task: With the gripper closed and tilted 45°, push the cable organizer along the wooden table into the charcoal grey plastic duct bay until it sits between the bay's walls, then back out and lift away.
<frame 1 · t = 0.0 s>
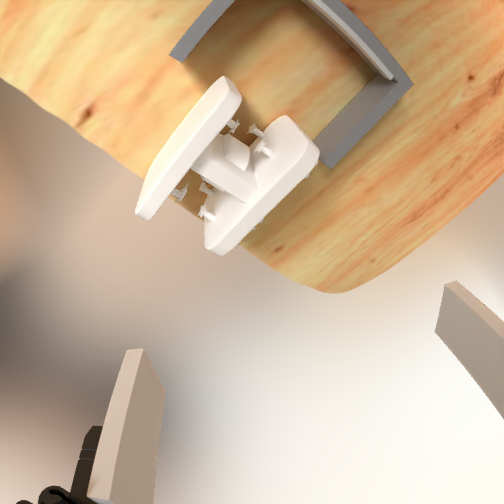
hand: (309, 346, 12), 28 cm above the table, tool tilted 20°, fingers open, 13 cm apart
cable organizer: (219, 140, 33), on the table
duct bay: (289, 60, 28), on the table
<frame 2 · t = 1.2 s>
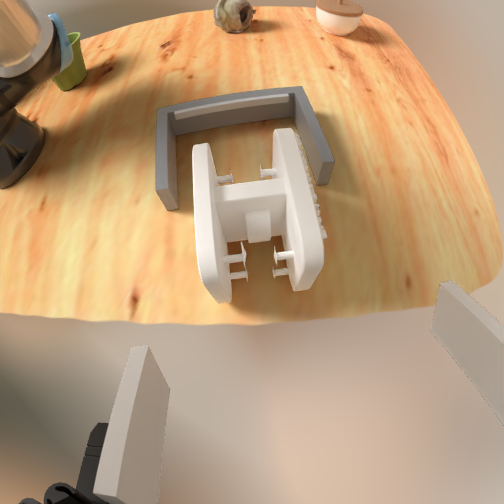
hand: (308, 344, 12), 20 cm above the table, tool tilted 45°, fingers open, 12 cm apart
grey lumpy rounded piece: (236, 28, 55), on the table
cable organizer: (256, 239, 36), on the table
lidded jar: (335, 30, 54), on the table
plant pot: (74, 81, 52), on the table
duct bay: (240, 156, 40), on the table
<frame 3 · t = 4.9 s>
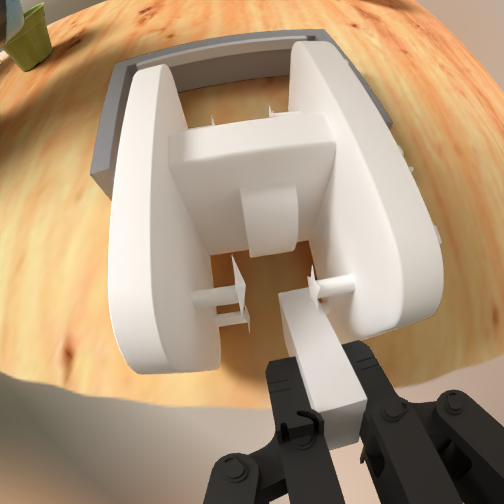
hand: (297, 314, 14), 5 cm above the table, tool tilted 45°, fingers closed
cable organizer: (264, 249, 20), on the table, touching gripper
plant pot: (38, 60, 37), on the table
duct bay: (235, 123, 25), on the table
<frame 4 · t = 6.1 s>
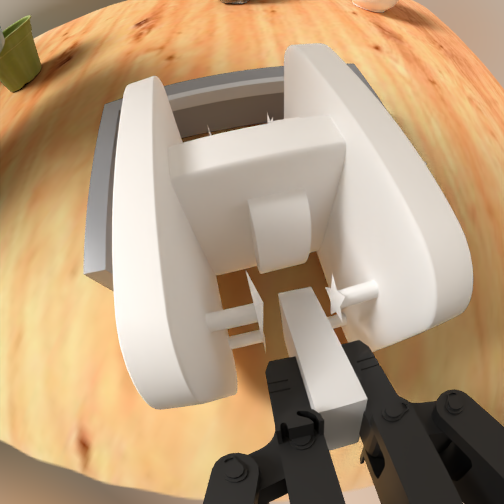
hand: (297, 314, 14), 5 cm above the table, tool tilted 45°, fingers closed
cable organizer: (270, 264, 20), on the table, touching gripper
lidded jar: (368, 7, 36), on the table
plant pot: (27, 79, 34), on the table
duct bay: (251, 186, 22), on the table
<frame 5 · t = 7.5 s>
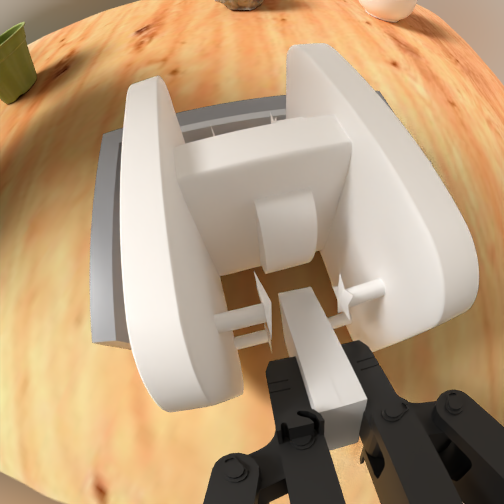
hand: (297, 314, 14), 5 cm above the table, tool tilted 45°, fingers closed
grey lumpy rounded piece: (244, 5, 36), on the table
cable organizer: (274, 264, 20), on the table, touching gripper
lidded jar: (381, 15, 35), on the table
plant pot: (22, 89, 33), on the table
duct bay: (268, 231, 21), on the table
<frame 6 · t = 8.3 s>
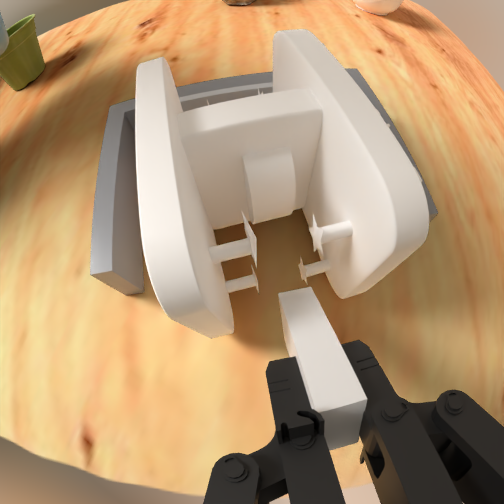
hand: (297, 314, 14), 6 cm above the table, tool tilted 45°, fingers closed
grey lumpy rounded piece: (241, 1, 38), on the table
cable organizer: (261, 222, 22), on the table
lidded jar: (371, 9, 37), on the table
plant pot: (30, 78, 35), on the table
duct bay: (255, 189, 23), on the table
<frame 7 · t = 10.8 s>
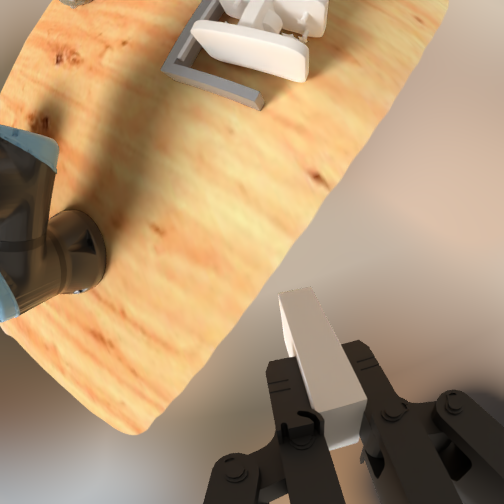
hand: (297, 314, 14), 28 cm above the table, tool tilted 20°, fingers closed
cable organizer: (267, 44, 36), on the table
duct bay: (251, 38, 36), on the table
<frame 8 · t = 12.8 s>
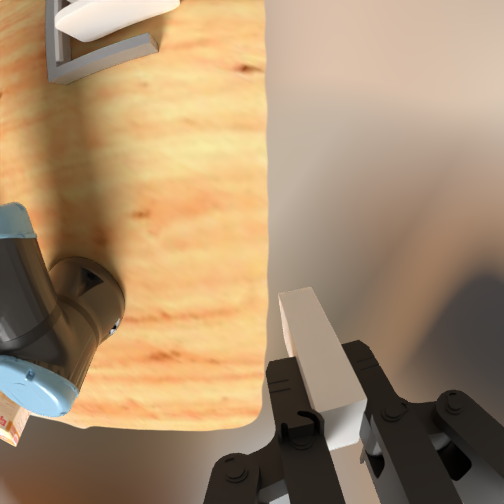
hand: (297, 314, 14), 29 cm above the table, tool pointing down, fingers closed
cable organizer: (125, 1, 28), on the table
coffeecake box: (17, 367, 51), on the table
duct bay: (107, 7, 27), on the table
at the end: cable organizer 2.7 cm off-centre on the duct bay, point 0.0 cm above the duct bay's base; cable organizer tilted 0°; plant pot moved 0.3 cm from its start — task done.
